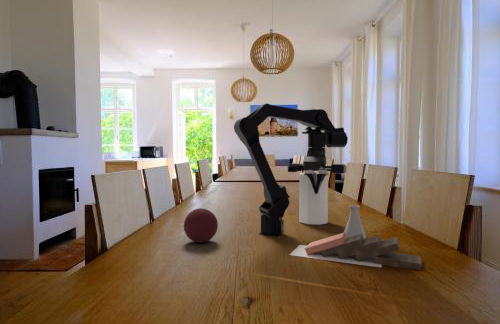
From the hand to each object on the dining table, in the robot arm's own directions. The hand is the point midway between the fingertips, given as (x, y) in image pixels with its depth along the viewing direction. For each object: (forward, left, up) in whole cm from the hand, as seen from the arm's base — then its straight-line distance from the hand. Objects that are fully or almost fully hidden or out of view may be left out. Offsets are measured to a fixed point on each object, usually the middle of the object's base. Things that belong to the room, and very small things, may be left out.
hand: (316, 193), depth 111 cm
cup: (-4, +13, -13) cm, 19 cm away
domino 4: (+16, -25, -11) cm, 32 cm away
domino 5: (+20, -25, -11) cm, 34 cm away
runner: (+11, -25, -13) cm, 30 cm away
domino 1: (+4, -25, -11) cm, 28 cm away
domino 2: (+8, -25, -11) cm, 28 cm away
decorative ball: (-28, -28, -13) cm, 41 cm away
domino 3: (+12, -25, -11) cm, 30 cm away
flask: (+13, -4, -13) cm, 19 cm away
